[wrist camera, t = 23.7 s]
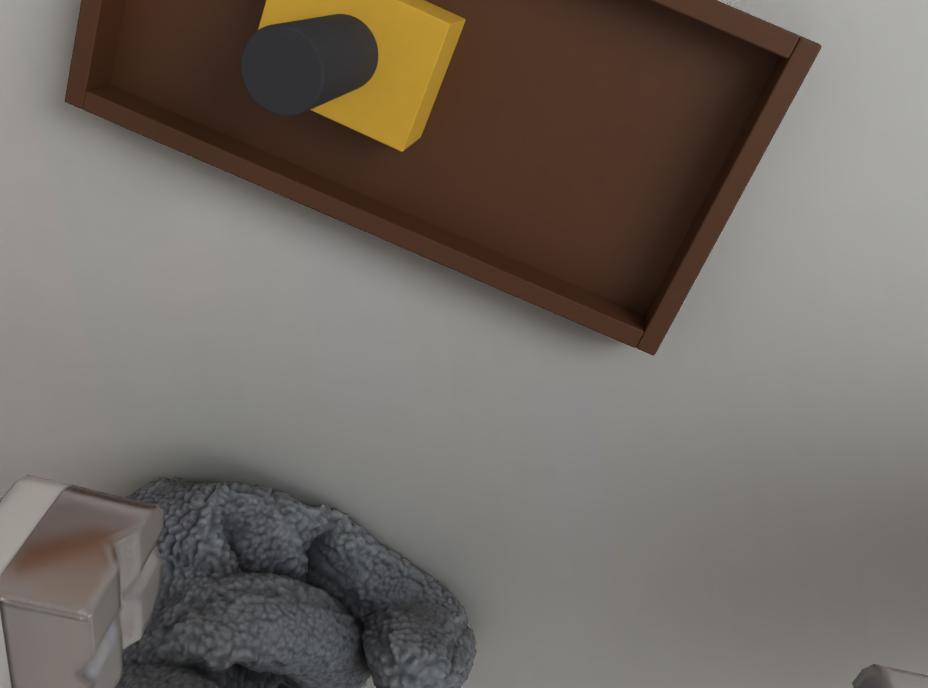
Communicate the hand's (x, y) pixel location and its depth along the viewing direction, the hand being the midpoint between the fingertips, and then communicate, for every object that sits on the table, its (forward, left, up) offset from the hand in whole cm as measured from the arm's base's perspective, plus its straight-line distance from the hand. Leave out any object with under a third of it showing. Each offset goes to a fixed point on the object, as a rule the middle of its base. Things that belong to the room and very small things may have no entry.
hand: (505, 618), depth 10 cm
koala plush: (+19, +20, -27) cm, 39 cm away
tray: (+6, -4, -27) cm, 28 cm away
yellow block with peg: (+8, -6, -26) cm, 28 cm away
